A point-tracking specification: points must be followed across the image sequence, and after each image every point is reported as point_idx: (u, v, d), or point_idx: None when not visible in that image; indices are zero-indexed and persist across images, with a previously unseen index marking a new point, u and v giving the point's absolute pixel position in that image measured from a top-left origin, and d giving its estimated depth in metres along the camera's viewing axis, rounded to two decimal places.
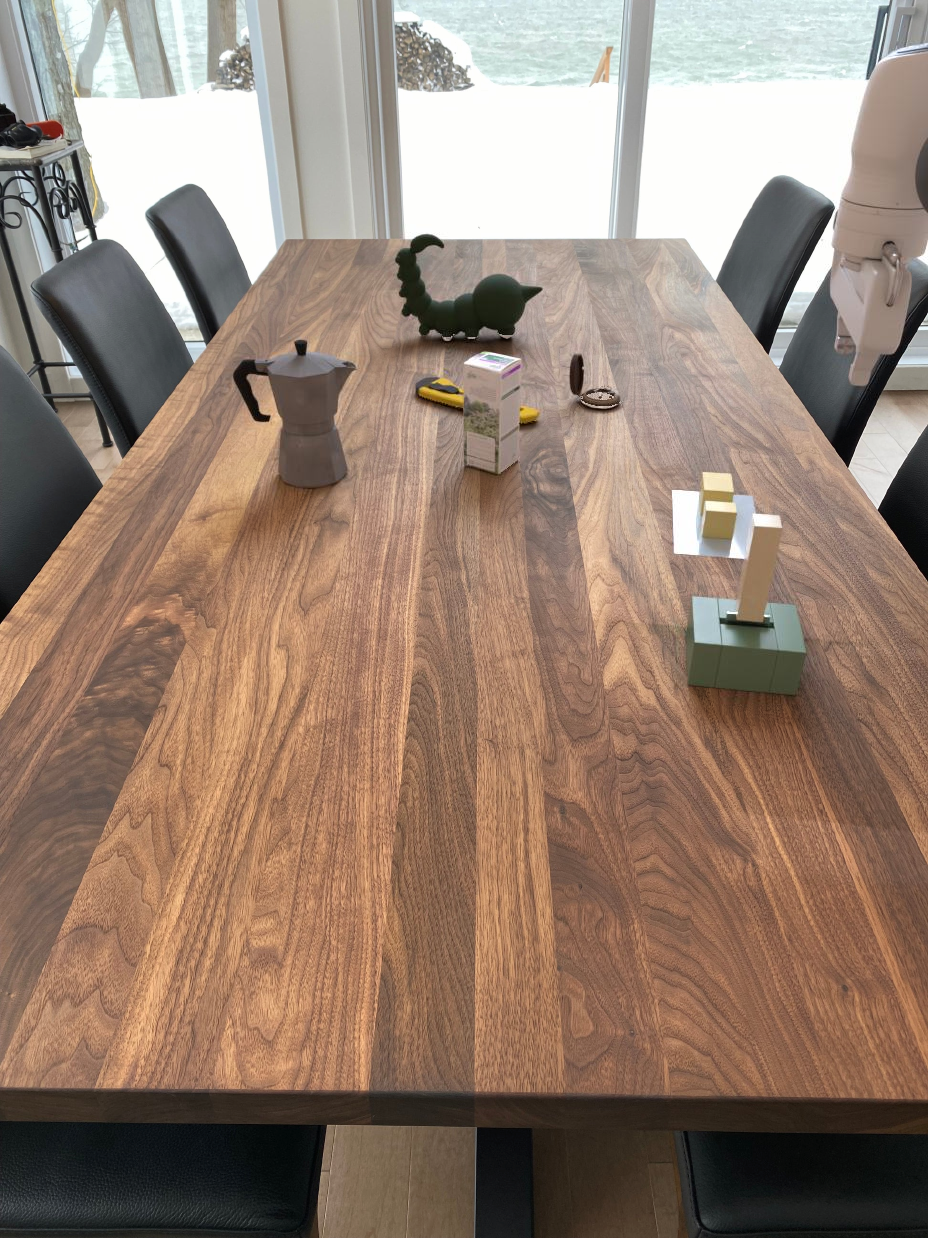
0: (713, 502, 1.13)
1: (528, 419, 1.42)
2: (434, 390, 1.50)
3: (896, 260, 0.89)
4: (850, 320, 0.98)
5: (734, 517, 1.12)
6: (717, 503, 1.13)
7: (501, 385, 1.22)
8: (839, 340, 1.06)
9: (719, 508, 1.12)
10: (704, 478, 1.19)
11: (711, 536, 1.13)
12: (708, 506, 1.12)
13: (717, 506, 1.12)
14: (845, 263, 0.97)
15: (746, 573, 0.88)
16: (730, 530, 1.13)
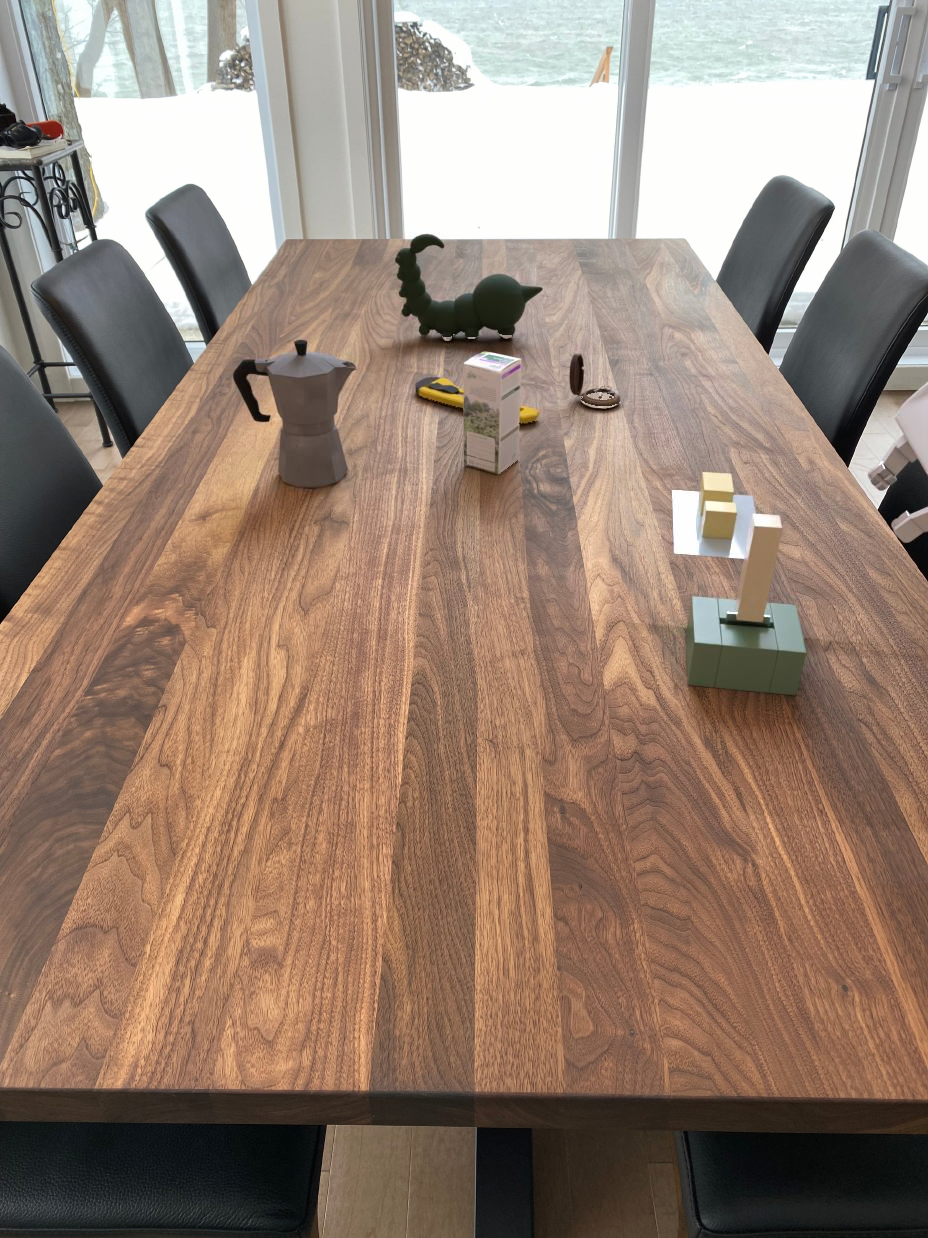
0: (713, 502, 1.13)
1: (528, 419, 1.42)
2: (434, 390, 1.50)
3: None
4: None
5: (734, 517, 1.12)
6: (717, 503, 1.13)
7: (501, 385, 1.22)
8: (883, 470, 0.89)
9: (719, 508, 1.12)
10: (704, 478, 1.19)
11: (711, 536, 1.13)
12: (708, 506, 1.12)
13: (717, 506, 1.12)
14: None
15: (746, 573, 0.88)
16: (730, 530, 1.13)
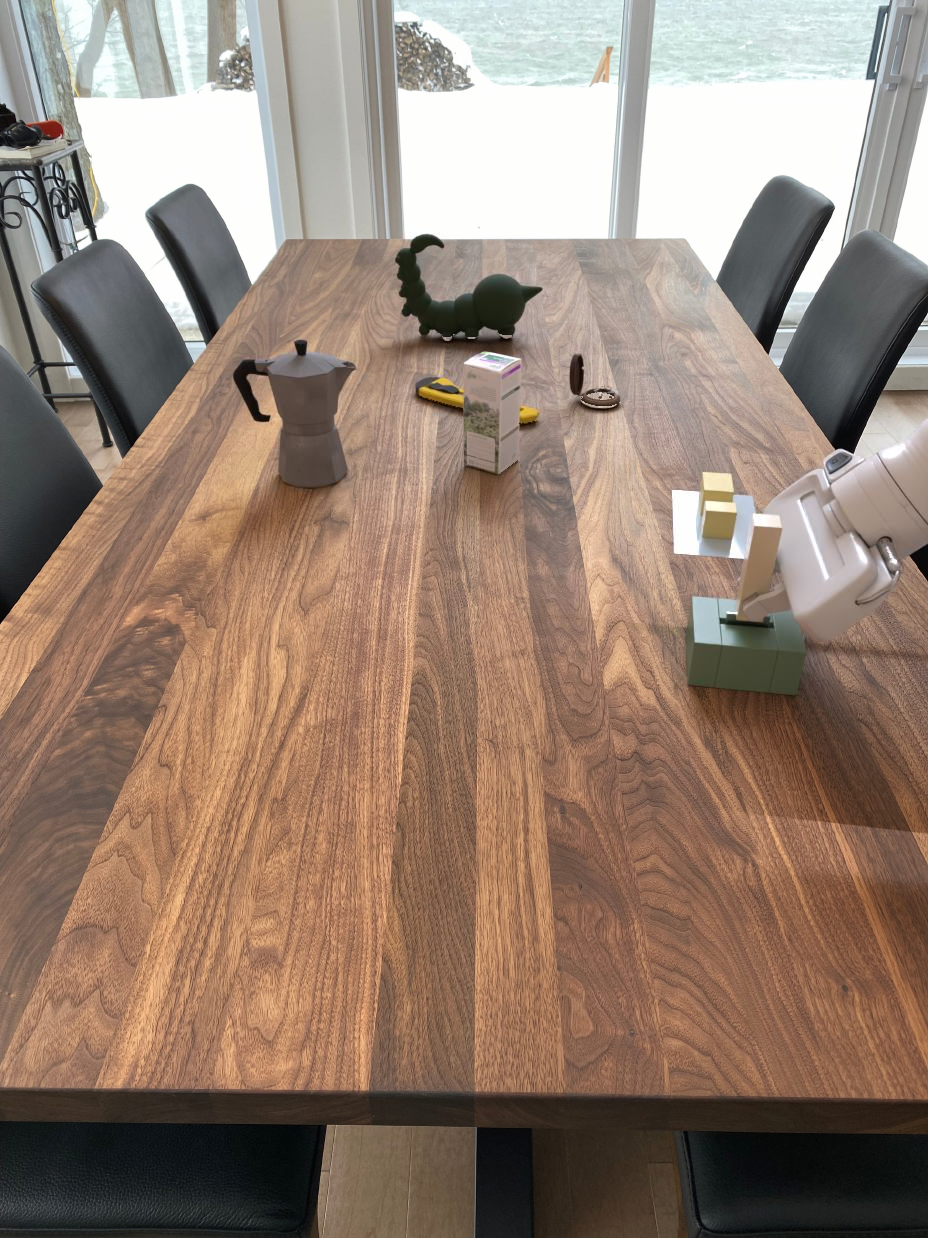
0: (713, 502, 1.13)
1: (528, 419, 1.42)
2: (434, 390, 1.50)
3: (896, 570, 0.77)
4: (794, 572, 0.84)
5: (734, 517, 1.12)
6: (717, 503, 1.13)
7: (501, 385, 1.22)
8: None
9: (719, 508, 1.12)
10: (704, 478, 1.19)
11: (711, 536, 1.13)
12: (708, 506, 1.12)
13: (717, 506, 1.12)
14: (830, 517, 0.84)
15: (746, 573, 0.88)
16: (730, 530, 1.13)
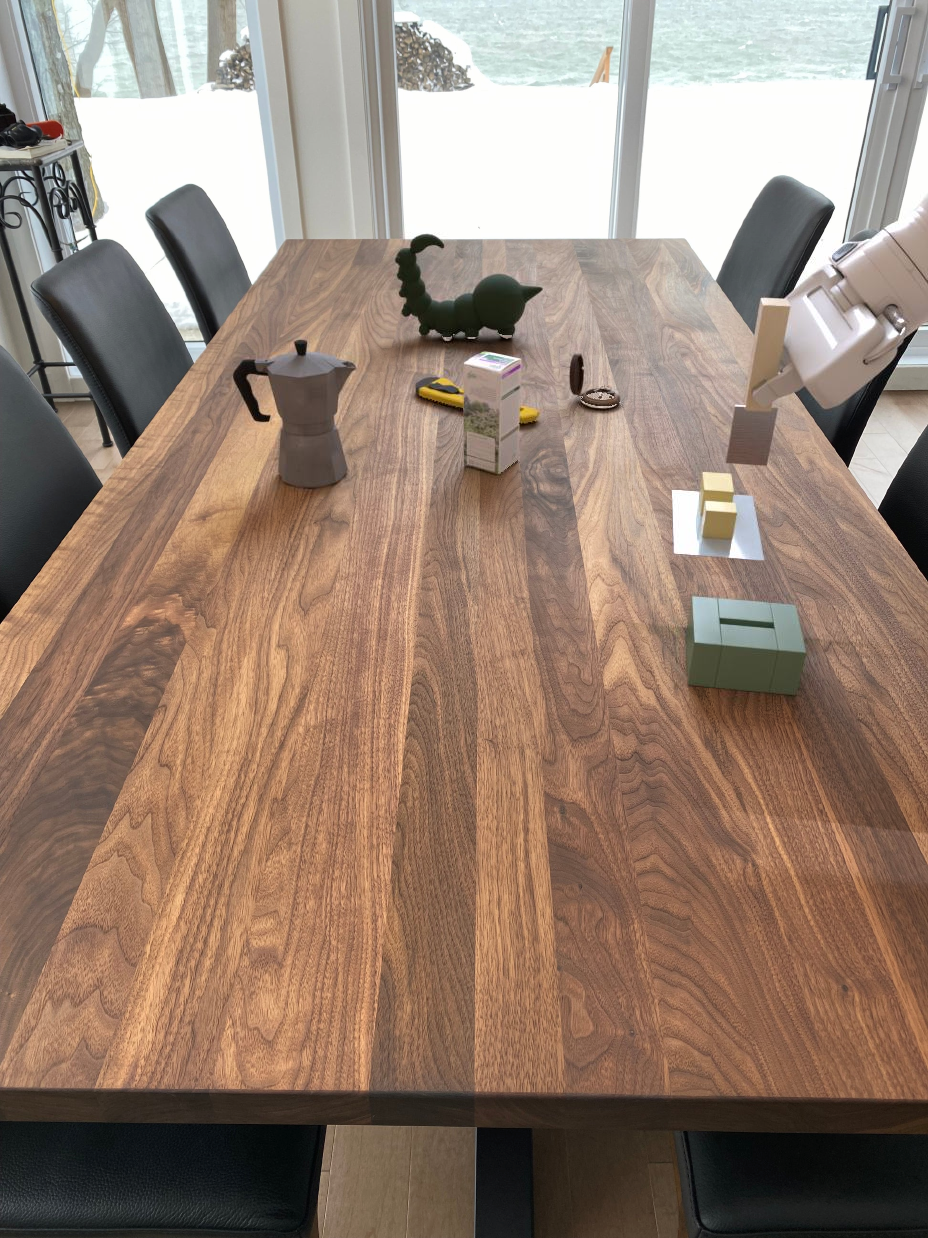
0: (713, 502, 1.13)
1: (528, 419, 1.42)
2: (434, 390, 1.50)
3: (903, 326, 0.80)
4: (803, 349, 0.87)
5: (734, 517, 1.12)
6: (717, 503, 1.13)
7: (501, 385, 1.22)
8: None
9: (719, 508, 1.12)
10: (704, 478, 1.19)
11: (711, 536, 1.13)
12: (708, 506, 1.12)
13: (717, 506, 1.12)
14: (838, 294, 0.86)
15: (755, 358, 0.90)
16: (730, 530, 1.13)
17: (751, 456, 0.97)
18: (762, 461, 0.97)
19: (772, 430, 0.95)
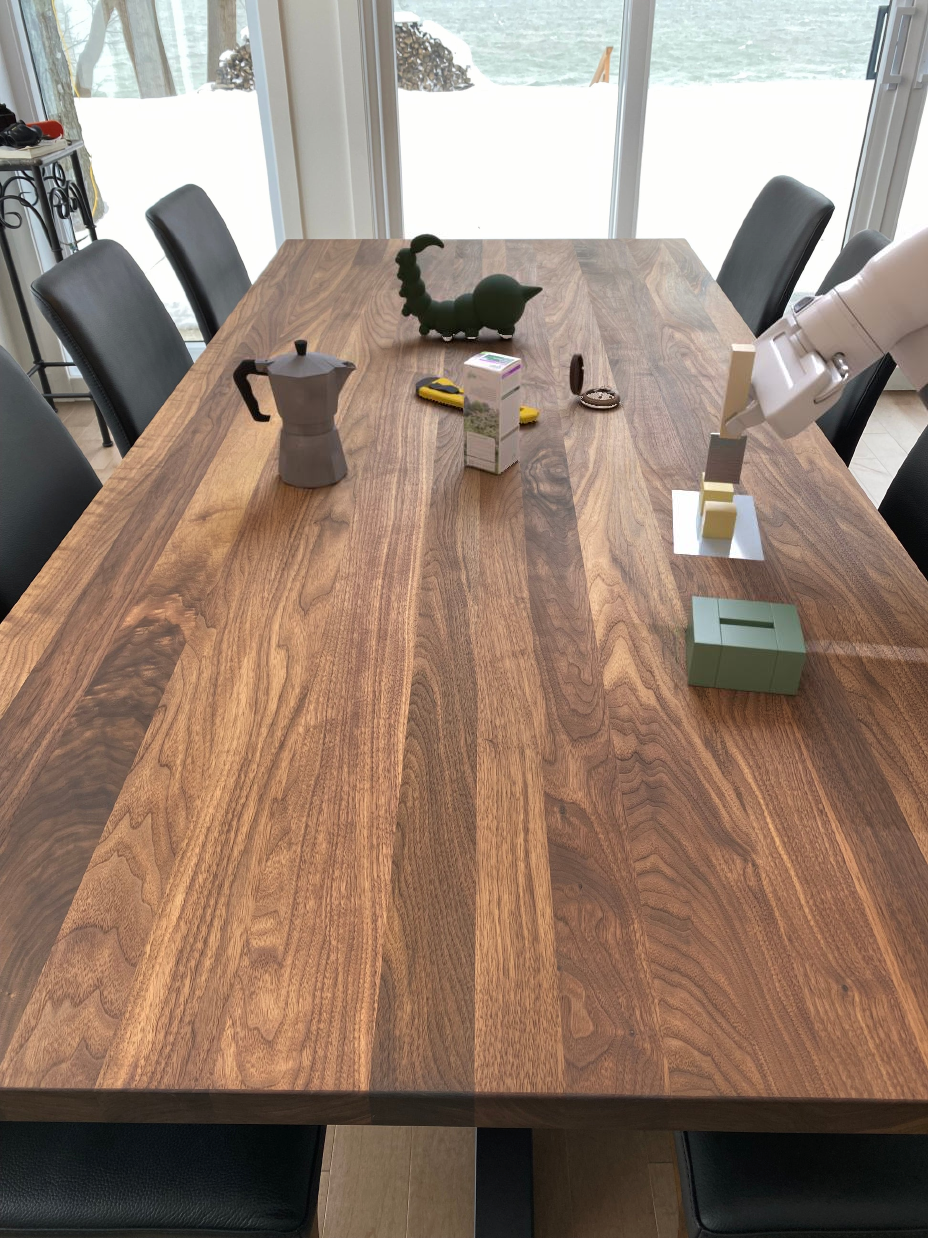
0: (713, 502, 1.13)
1: (528, 419, 1.42)
2: (434, 390, 1.50)
3: (846, 373, 0.96)
4: (766, 388, 1.03)
5: (734, 517, 1.12)
6: (717, 503, 1.13)
7: (501, 385, 1.22)
8: None
9: (719, 508, 1.12)
10: None
11: (711, 536, 1.13)
12: (708, 506, 1.12)
13: (717, 506, 1.12)
14: (795, 342, 1.03)
15: (726, 394, 1.07)
16: (730, 530, 1.13)
17: (725, 476, 1.13)
18: (735, 480, 1.13)
19: (743, 454, 1.11)
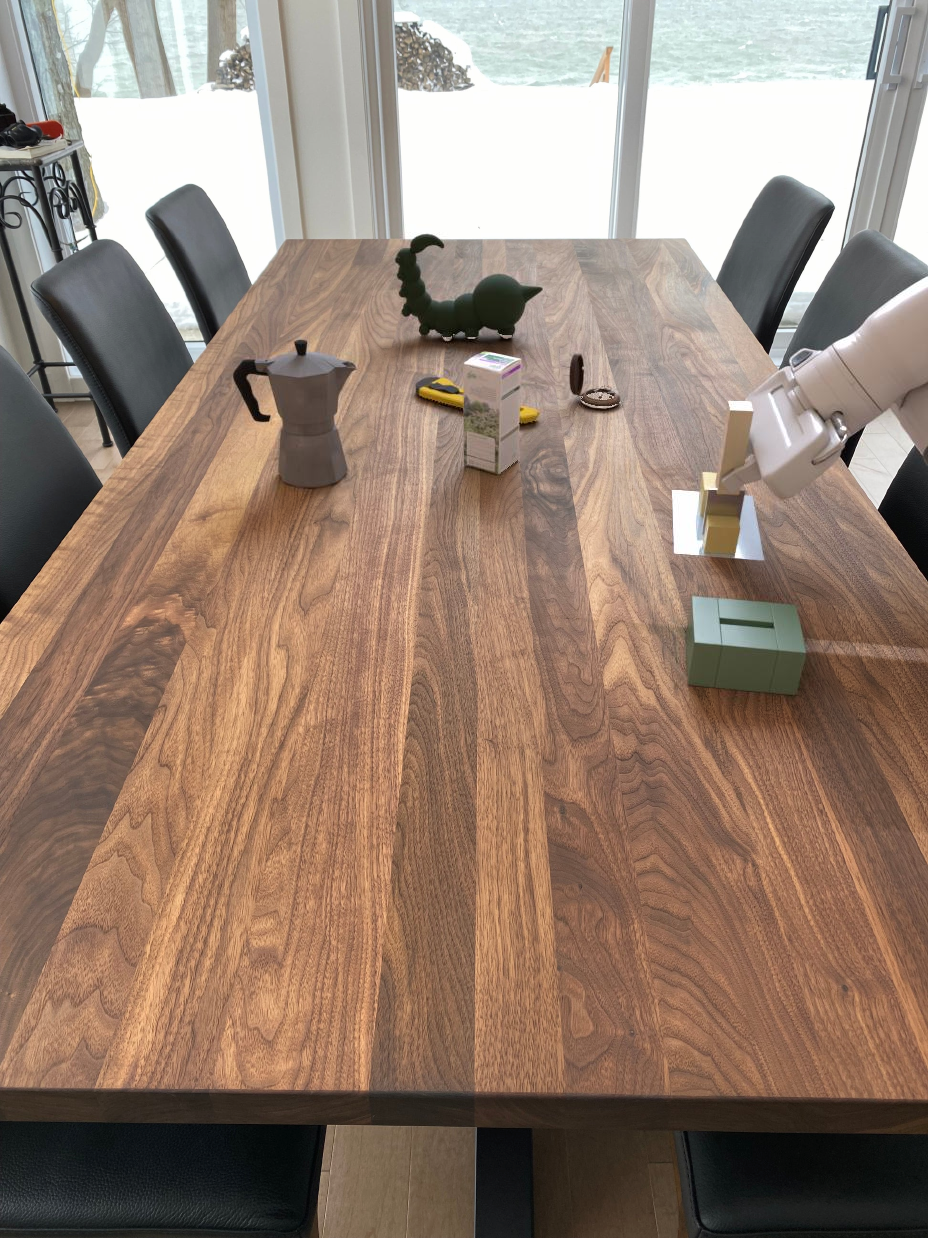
0: (715, 516, 1.10)
1: (528, 419, 1.42)
2: (434, 390, 1.50)
3: (845, 434, 0.94)
4: (764, 446, 1.01)
5: (737, 532, 1.09)
6: (719, 517, 1.10)
7: (501, 385, 1.22)
8: None
9: (721, 523, 1.09)
10: (704, 478, 1.19)
11: (714, 551, 1.11)
12: (711, 521, 1.09)
13: (719, 521, 1.10)
14: (793, 399, 1.01)
15: (724, 452, 1.05)
16: (733, 545, 1.10)
17: None
18: None
19: (741, 508, 1.10)
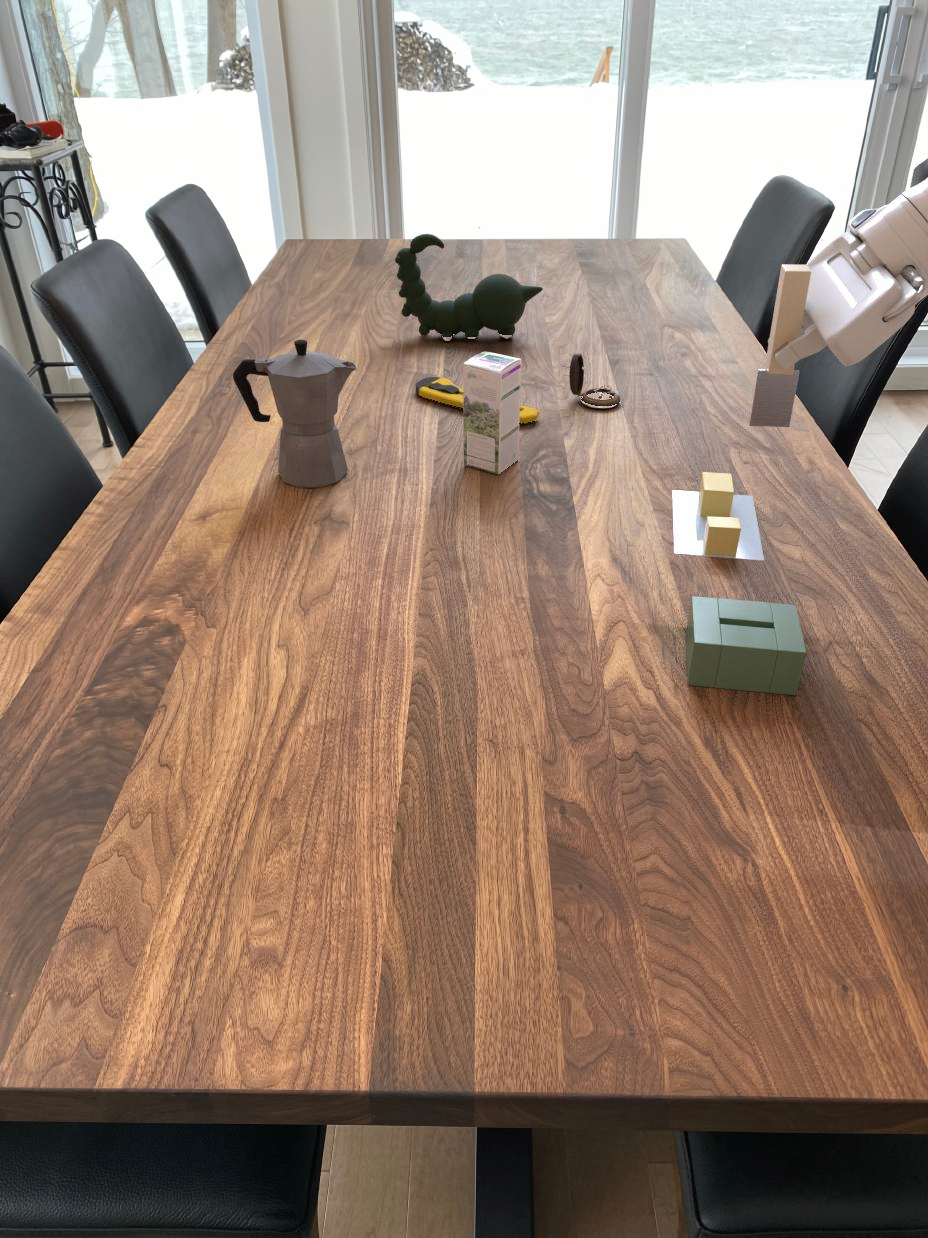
0: (715, 517, 1.10)
1: (528, 419, 1.42)
2: (434, 390, 1.50)
3: (921, 284, 0.83)
4: (824, 311, 0.91)
5: (738, 533, 1.09)
6: (720, 518, 1.10)
7: (501, 385, 1.22)
8: None
9: (722, 524, 1.09)
10: (704, 478, 1.19)
11: (714, 552, 1.10)
12: (711, 522, 1.09)
13: (720, 522, 1.09)
14: (857, 257, 0.90)
15: (777, 322, 0.94)
16: (734, 546, 1.10)
17: (774, 418, 1.00)
18: (784, 423, 1.01)
19: (794, 392, 0.99)
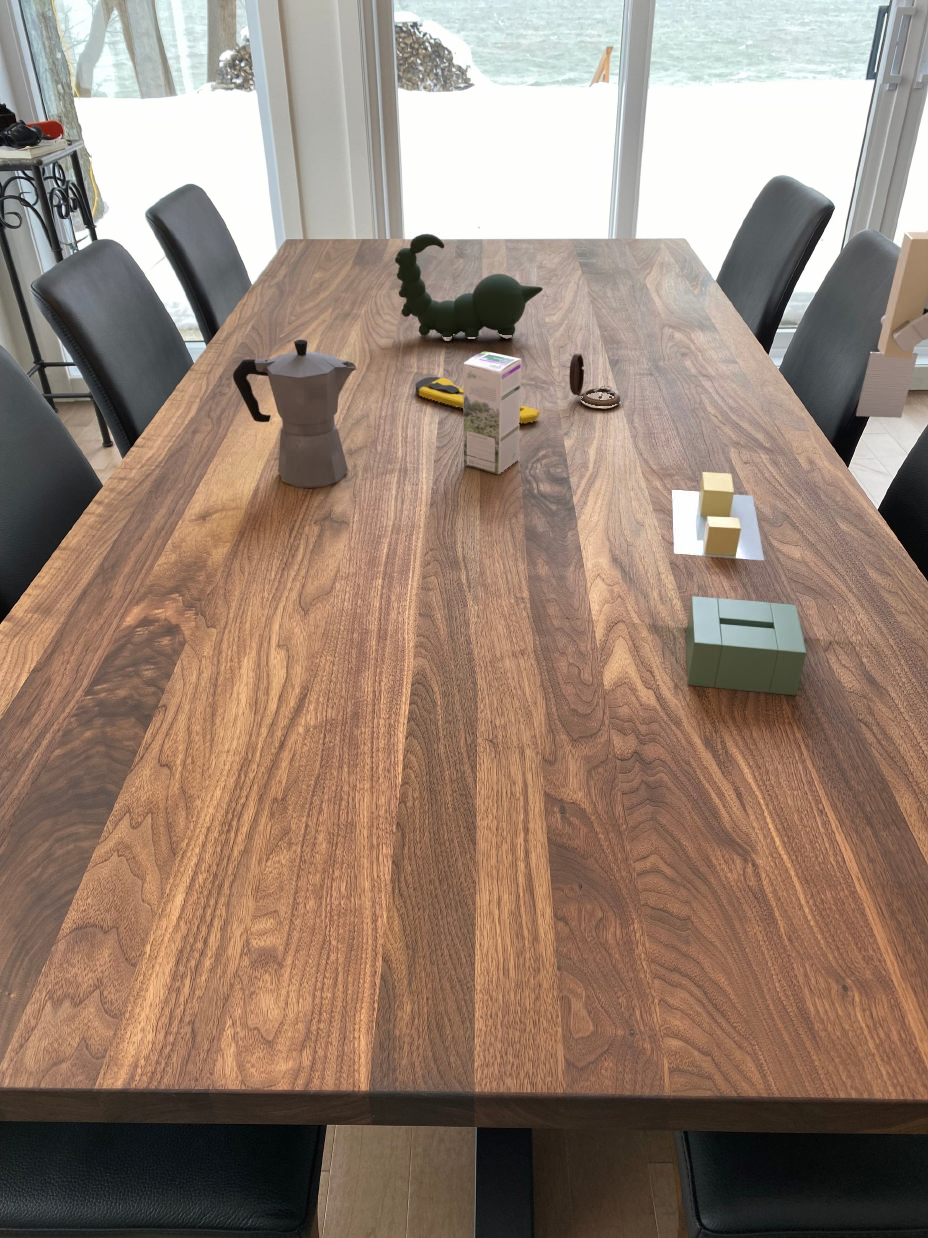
0: (715, 517, 1.10)
1: (528, 419, 1.42)
2: (434, 390, 1.50)
3: None
4: None
5: (738, 533, 1.09)
6: (720, 518, 1.10)
7: (501, 385, 1.22)
8: None
9: (722, 524, 1.09)
10: (704, 478, 1.19)
11: (714, 552, 1.10)
12: (711, 522, 1.09)
13: (720, 522, 1.09)
14: None
15: (898, 298, 0.83)
16: (734, 546, 1.10)
17: (885, 407, 0.90)
18: (896, 413, 0.90)
19: (910, 378, 0.88)
